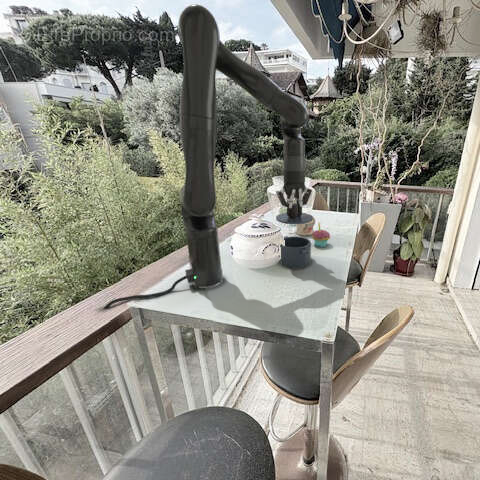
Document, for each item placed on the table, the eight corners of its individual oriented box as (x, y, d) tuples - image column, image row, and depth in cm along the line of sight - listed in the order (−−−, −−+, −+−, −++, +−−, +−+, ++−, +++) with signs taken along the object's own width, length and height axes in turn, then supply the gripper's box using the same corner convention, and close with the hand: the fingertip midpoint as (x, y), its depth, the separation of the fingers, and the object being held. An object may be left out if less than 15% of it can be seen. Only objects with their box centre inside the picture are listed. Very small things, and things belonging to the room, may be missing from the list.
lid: (285, 228, 89) (285, 210, 87) (270, 217, 100) (269, 201, 98) (319, 222, 96) (320, 206, 94) (301, 213, 107) (301, 198, 105)
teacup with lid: (304, 237, 133) (304, 214, 129) (292, 232, 139) (292, 211, 135) (320, 232, 141) (321, 210, 137) (308, 227, 147) (309, 207, 143)
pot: (291, 274, 97) (290, 253, 94) (271, 256, 111) (270, 237, 108) (319, 267, 103) (320, 246, 100) (297, 250, 117) (297, 232, 114)
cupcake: (323, 249, 119) (324, 224, 115) (307, 245, 123) (308, 220, 119) (332, 244, 126) (334, 220, 122) (317, 240, 130) (318, 216, 126)
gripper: (306, 166, 98) (305, 212, 104) (271, 168, 91) (272, 216, 97) (317, 169, 92) (315, 217, 98) (280, 170, 85) (281, 222, 91)
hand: (294, 216), depth 98 cm, fingers closed on lid, 3 cm apart
